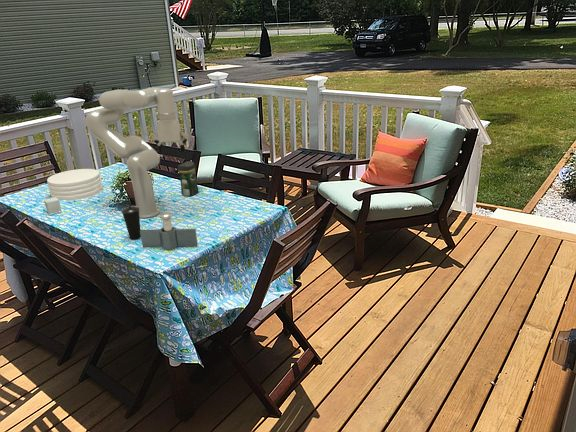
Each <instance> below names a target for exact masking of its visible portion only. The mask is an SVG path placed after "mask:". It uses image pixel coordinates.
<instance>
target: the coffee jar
mask: <svg viewBox="0 0 576 432" xmlns="http://www.w3.org/2000/svg"><path fill="white" fill-rule="evenodd" d="M177 172H178V173H179V177H180V180H179V181H180V190H181V192H180V193H181V195H182V196H184V197H192V196H194V195H196V194H198V193H199V187H198V182H197V176H196V164H195V162H194V161H190V160H187V161H185V162H182V163H181V164H178V165H177Z"/></svg>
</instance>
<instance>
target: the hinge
mask: <svg viewBox="0 0 576 432" xmlns="http://www.w3.org/2000/svg"><path fill="white" fill-rule="evenodd" d="M172 230H173V231H170V232H164V227H160V228H158V229H157V228H156V229H140V235H141V238H140V240H141V245H142V248H161V249H162V250H164V251H173V250H175V249H177V248H185V247H187V248H189V247H191V248H193V247H199V245H198V236H197V230H196V228H177V227H176V226H174V225H172Z"/></svg>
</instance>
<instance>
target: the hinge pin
mask: <svg viewBox="0 0 576 432" xmlns="http://www.w3.org/2000/svg"><path fill="white" fill-rule="evenodd" d="M172 217H173V212H171V211H165V212H160V213H159V219H160V220H162V221H161V222H162V226H163V227H162V228H164V232H170V231H173V230H172V226H173V224H172Z"/></svg>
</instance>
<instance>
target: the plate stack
mask: <svg viewBox="0 0 576 432" xmlns="http://www.w3.org/2000/svg"><path fill="white" fill-rule="evenodd" d="M46 180H47V185H48V188H49V192H50V194H49V195H50V197H51V196H52V197H53V198H54V197H56V198H57V199H58V200H66V201H74V200H81V199H86V198H89V197H92V196H95V195H97V194H99V193H100V192H102V190H103V191H104V189H103V184H102V180H101V173H100V170H98V169H94V168H80V169H79V168H78V169H71V170H65V171H61V172H59V173H55V174H53V175H50V176H49V177H48V178H47V179H46ZM102 193H103V192H102Z"/></svg>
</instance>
